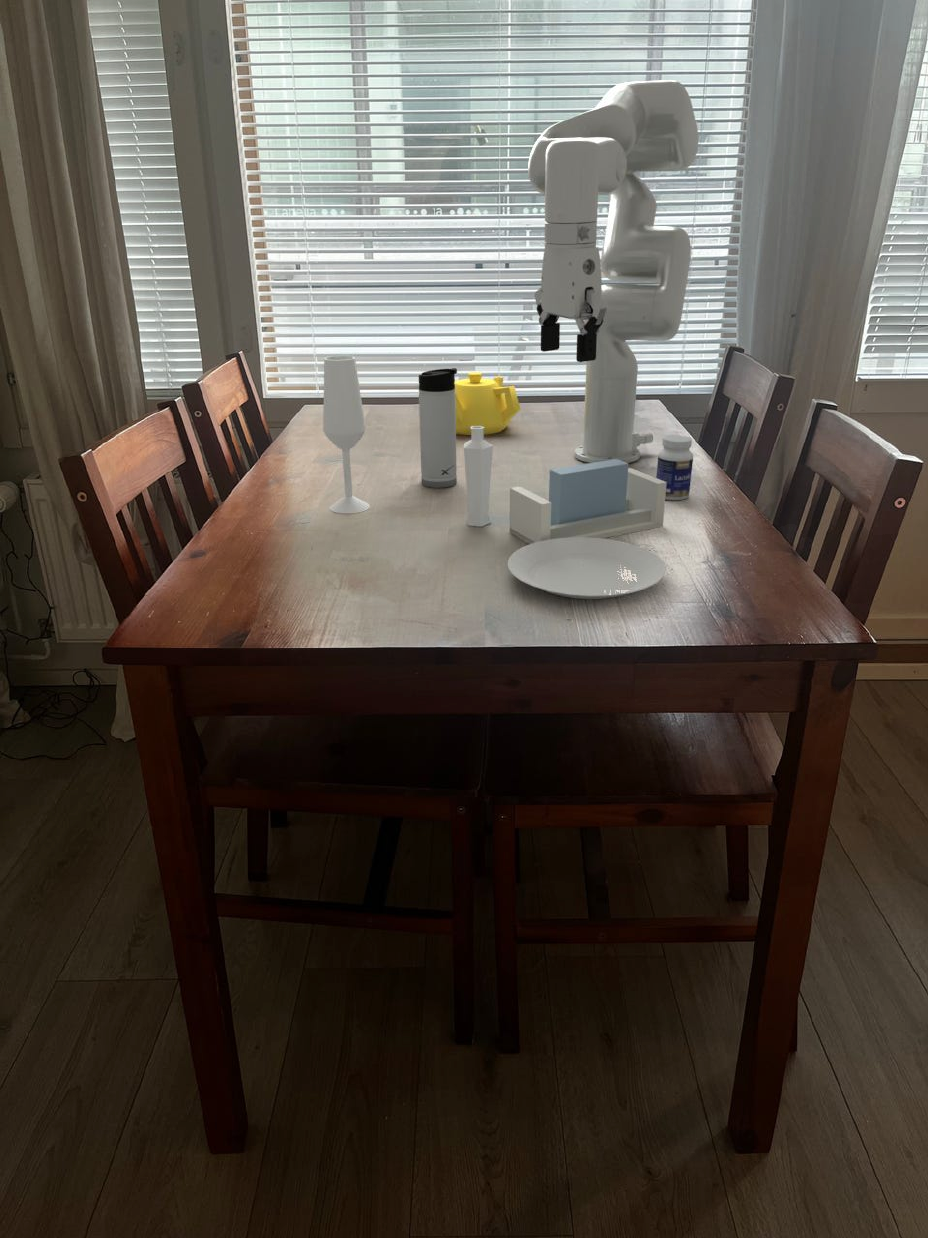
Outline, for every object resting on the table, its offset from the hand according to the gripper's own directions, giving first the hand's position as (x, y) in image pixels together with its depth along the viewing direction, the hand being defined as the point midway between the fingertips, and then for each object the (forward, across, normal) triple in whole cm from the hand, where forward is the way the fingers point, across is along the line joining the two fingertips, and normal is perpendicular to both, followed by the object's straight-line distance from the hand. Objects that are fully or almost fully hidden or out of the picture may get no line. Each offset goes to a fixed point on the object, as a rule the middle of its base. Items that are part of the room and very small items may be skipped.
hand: (567, 355), depth 140 cm
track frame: (+24, -13, +4) cm, 27 cm away
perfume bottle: (+24, -1, +17) cm, 29 cm away
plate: (+23, -28, +16) cm, 40 cm away
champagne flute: (+24, +16, +32) cm, 43 cm away
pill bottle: (+25, -6, -18) cm, 31 cm away
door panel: (+23, -12, +4) cm, 26 cm away
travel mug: (+24, +21, +13) cm, 34 cm away
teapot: (+26, +54, -13) cm, 61 cm away
